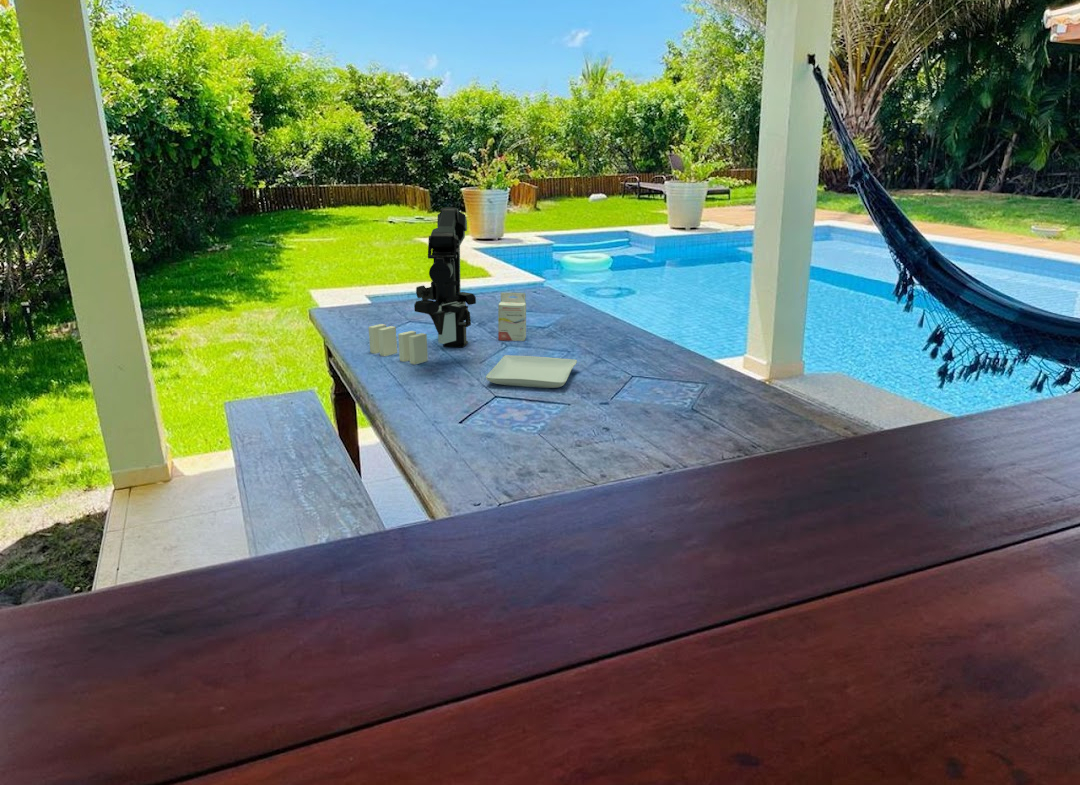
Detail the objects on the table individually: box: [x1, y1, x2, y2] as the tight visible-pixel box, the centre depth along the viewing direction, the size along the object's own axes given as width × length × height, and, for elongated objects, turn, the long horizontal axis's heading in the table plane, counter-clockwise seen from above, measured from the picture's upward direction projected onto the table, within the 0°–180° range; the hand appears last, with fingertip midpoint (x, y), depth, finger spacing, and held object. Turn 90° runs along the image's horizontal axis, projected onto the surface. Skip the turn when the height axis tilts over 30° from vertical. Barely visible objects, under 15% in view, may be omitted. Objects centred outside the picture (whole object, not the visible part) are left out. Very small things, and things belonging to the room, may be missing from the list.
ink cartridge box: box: [497, 291, 527, 342], centre depth 245 cm, size 9×5×15 cm, turn 84°
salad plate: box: [485, 354, 578, 389], centre depth 207 cm, size 21×21×3 cm
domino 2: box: [378, 325, 398, 357], centre depth 229 cm, size 2×5×8 cm, turn 140°
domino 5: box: [437, 312, 456, 344], centre depth 216 cm, size 2×5×8 cm, turn 140°
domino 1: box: [368, 323, 387, 355], centre depth 231 cm, size 2×5×8 cm, turn 140°
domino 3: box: [397, 330, 417, 363], centre depth 223 cm, size 2×5×8 cm, turn 140°
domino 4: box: [409, 332, 429, 366], centre depth 221 cm, size 2×5×8 cm, turn 140°
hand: (447, 332), depth 217 cm, fingers closed on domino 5, 5 cm apart
